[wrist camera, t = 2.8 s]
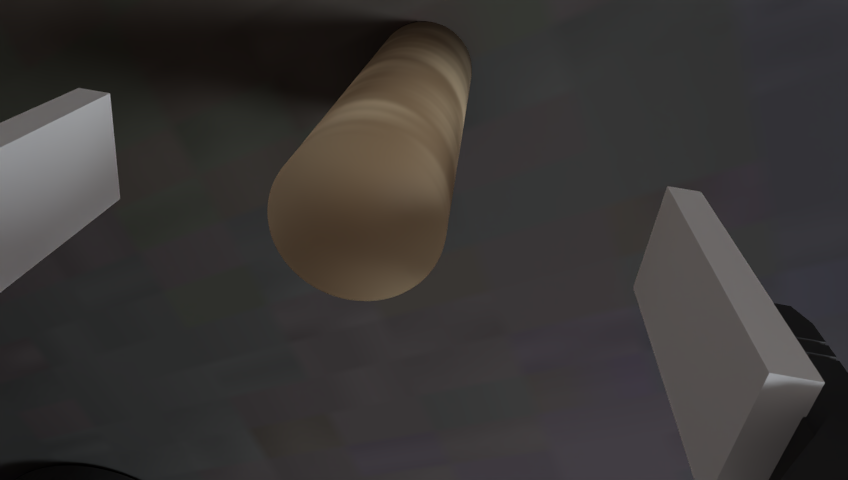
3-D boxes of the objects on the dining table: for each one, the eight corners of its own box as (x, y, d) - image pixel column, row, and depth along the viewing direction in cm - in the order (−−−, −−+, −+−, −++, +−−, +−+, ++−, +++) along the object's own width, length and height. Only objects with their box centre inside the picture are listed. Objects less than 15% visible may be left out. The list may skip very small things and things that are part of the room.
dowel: (373, 109, 29) (265, 285, 15) (382, 14, 27) (269, 123, 14) (463, 123, 29) (432, 313, 15) (479, 29, 27) (459, 154, 14)
